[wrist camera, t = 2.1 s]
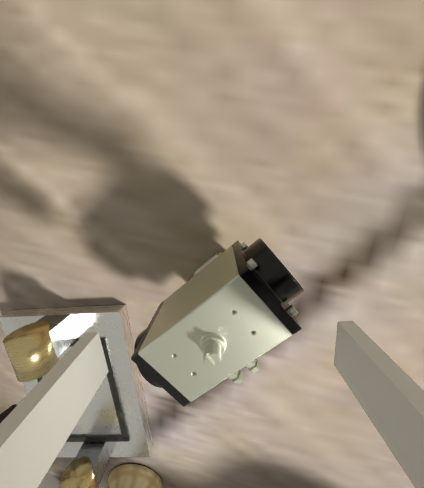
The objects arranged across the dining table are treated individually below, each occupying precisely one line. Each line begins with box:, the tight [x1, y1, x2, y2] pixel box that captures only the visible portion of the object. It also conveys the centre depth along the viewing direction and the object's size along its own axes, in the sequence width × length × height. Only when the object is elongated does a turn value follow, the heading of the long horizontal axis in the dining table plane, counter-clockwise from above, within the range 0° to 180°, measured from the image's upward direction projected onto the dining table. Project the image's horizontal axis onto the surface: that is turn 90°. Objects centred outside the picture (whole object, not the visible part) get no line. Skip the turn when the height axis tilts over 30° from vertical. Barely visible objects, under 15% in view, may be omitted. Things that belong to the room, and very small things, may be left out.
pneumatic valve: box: [131, 238, 304, 406], centre depth 16 cm, size 6×12×12 cm, turn 131°
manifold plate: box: [0, 305, 154, 488], centre depth 23 cm, size 23×14×7 cm, turn 4°
